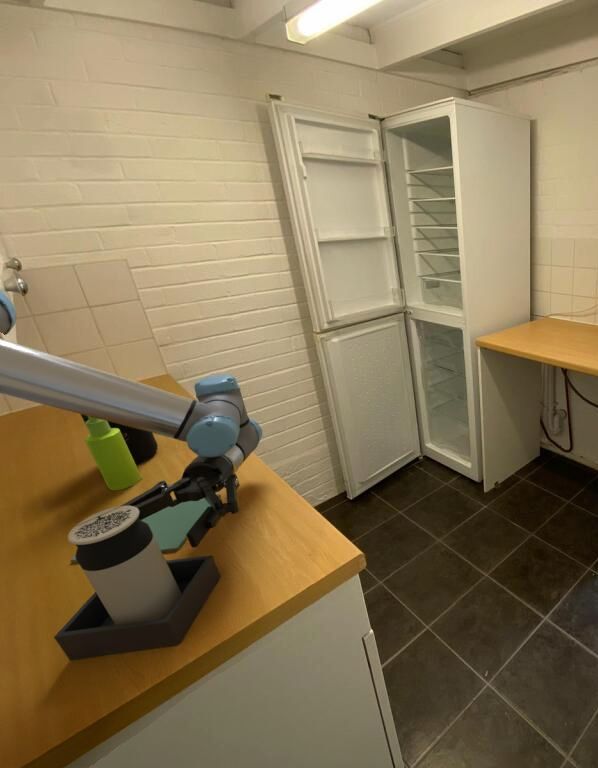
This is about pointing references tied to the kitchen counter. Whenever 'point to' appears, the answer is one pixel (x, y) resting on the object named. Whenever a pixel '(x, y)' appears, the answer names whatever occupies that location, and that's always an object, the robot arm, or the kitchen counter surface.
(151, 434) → the coffee jar
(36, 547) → the kitchen counter surface
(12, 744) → the kitchen counter surface
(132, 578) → the travel mug
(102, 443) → the soap dispenser
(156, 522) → the mat
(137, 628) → the dark grey tray
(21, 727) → the kitchen counter surface
